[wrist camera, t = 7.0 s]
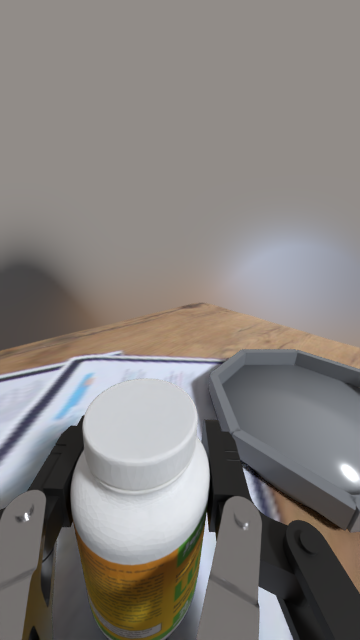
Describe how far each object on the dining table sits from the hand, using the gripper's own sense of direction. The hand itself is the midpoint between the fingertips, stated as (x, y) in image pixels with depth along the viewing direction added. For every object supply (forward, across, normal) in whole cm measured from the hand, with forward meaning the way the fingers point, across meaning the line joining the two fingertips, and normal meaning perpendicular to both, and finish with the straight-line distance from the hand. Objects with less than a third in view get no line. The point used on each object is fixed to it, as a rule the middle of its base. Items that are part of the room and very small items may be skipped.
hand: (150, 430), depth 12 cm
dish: (+8, -14, +6) cm, 17 cm away
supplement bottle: (-3, 0, +6) cm, 7 cm away
